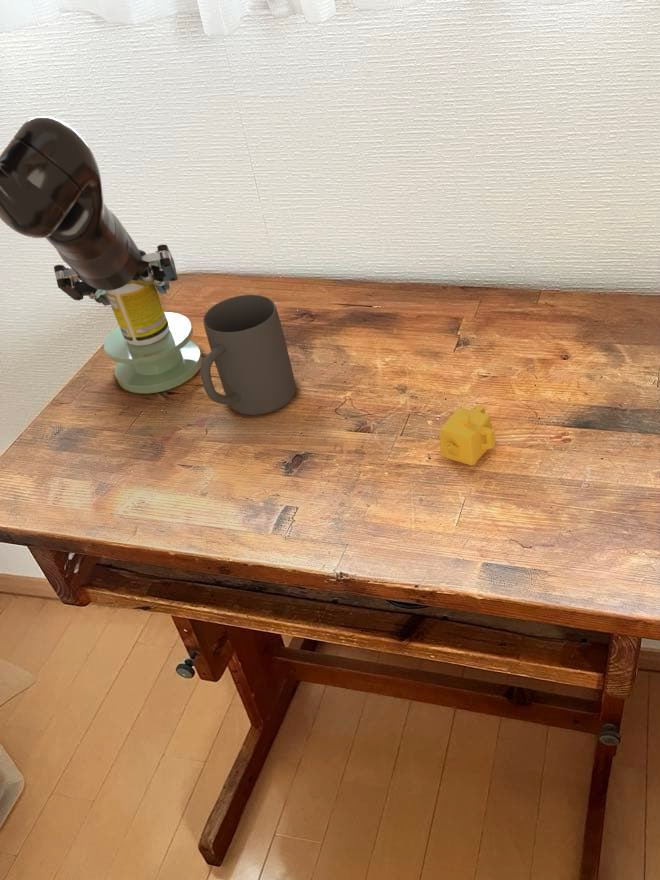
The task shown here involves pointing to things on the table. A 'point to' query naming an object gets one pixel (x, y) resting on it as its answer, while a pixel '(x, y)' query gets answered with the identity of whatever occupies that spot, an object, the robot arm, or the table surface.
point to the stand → (155, 358)
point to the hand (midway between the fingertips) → (134, 292)
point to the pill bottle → (139, 313)
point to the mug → (248, 355)
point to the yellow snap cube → (467, 435)
